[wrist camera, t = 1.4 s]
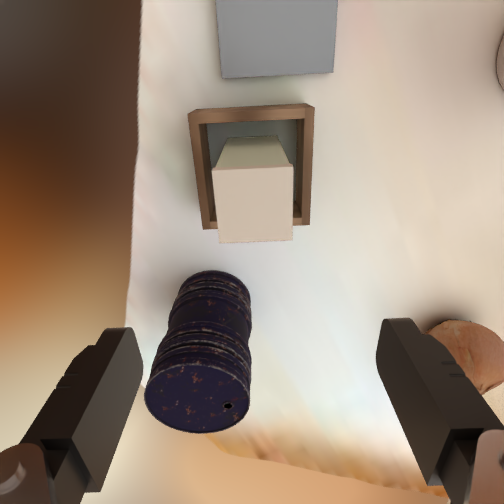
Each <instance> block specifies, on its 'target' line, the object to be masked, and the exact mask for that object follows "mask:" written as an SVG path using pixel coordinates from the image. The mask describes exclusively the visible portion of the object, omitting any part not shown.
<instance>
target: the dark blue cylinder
mask: <svg viewBox="0 0 504 504" xmlns="http://www.w3.org/2000/svg"><path fill="white" fill-rule="evenodd" d="M250 306H251V300H250V294H249V292H248V289H247V288H246V286H245V285H244V284H243V283H242V282H241V281H240V280H239V279H238V278H236V277H235V276H233V275H231V274H228V273H226V272H222V271H203V272H199V273H196V274H194V275H192V276H191V277H189V278H188V279H187V280H186V281H185V282H184V283H183V284H182V286H181V288H180V290H179V293H178V296H177V298H176V299H175V302H174V304H173V307H172V310H171V312H170V315H169V321H168V331H167V334H166V335H165V337H164V338H163V339H162V342H161V343H160V345H159V347H158V349H157V354H156V356H155V359H154V361H153V364H152V368H151V374H150V377H149V380H148V382H147V385H146V388H145V393H144V400H145V404H146V406H147V408H148V410H149V412H150V413H151V414H152V415H153V416H154V417H155V418H156V419H157V420H158V421H160V422H161V423H163V424H165V425H167V426H169V427H171V428H174V429H176V430H180V431H183V432H189V433H198V434H202V433H214V432H219V431H223V430H226V429H228V428H230V427H232V426H234V425H236V424H237V423H239V422H240V421H241V420H242V419H243V418H244V417H245V415H246V414H247V412H248V410H249V406H250V384H251V363H252V362H251V354H250V350H249V347H248V340H249V337H250V333H251V329H252V322H251V308H250Z"/></svg>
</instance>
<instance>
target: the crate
mask: <svg viewBox="0 0 504 504" xmlns="http://www.w3.org/2000/svg"><path fill="white" fill-rule="evenodd" d="M314 111H315V107H312V106H310V105H308V104H288V105H268V106H249V107H230V108H211V109H196V110H194V111H192V112H190V113H189V114H188V121H189V129H190V136H191V144H192V151H193V159H194V166H195V174H196V181H197V189H198V196H199V204H200V211H201V219H202V226H203V230H204V229H218V224H217V215H216V206H215V198H214V189H213V179H212V170H211V161H210V152H209V142H208V133H207V124H206V123H224V122H243V121H263V120H282V119H297V149H296V201H293V226H296V225H310V204H311V181H312V157H313V134H314Z"/></svg>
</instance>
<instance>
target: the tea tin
mask: <svg viewBox="0 0 504 504" xmlns="http://www.w3.org/2000/svg"><path fill="white" fill-rule="evenodd" d="M212 178H213V187H214V197H215V206H216V215H217V224H218V234H219V243H238V242H262V241H285V240H292V229H293V165H292V164H290V163H289V161H288V159H287V157H286V154H285V152H284V150H283V148H282V145H281V143H280V141H279V139H278V137H277V135H276V136H256V137H236V138H227V141H226V143H225V146H224V148H223V150H222V153H221V155H220V158H219V160H218V162H217V165H216V167H215V168H213V169H212Z"/></svg>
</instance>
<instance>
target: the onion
mask: <svg viewBox="0 0 504 504" xmlns="http://www.w3.org/2000/svg"><path fill="white" fill-rule="evenodd" d="M454 320H455V321H453V320H452V321H451V320H450V319H448V320H447V321H444V322H442V324H438V326H436V325H435V327H434V328H433V329H432V328H431V329H428V331H427V332H426V334H430V335H431V336H433V337H434V338H435V339H437V340H438V341H439V342H441V343H442V344H443V345H444V346H446V347H447V349H448V350H449V352H450V353H451V354H452V356H453V357H454V358H455V360H456V363H457V364H459V365H460V367H461V368H462V369H463V371H464V372H465V375H466V377H468V378H469V379H470V380H471V382H472V383H473V385H474V386H475V387H476V389H477V390H478V391H479V393H480V394H481V395H483V394H485V392H487V391H489V390H491V389H493V388H495V387H497V386H499V385H500V384H502V383H503V382H504V342H503V341H502V340H501V338H500V337H499V336H498V335H497V334H496V333H494V332H493V331H491V330H490V329H488V328H486V327H484V326H482V325H479V324H476V323H472V322H471V321H470V322H468V321H461V320H460V321H459V320H456V319H454Z"/></svg>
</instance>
